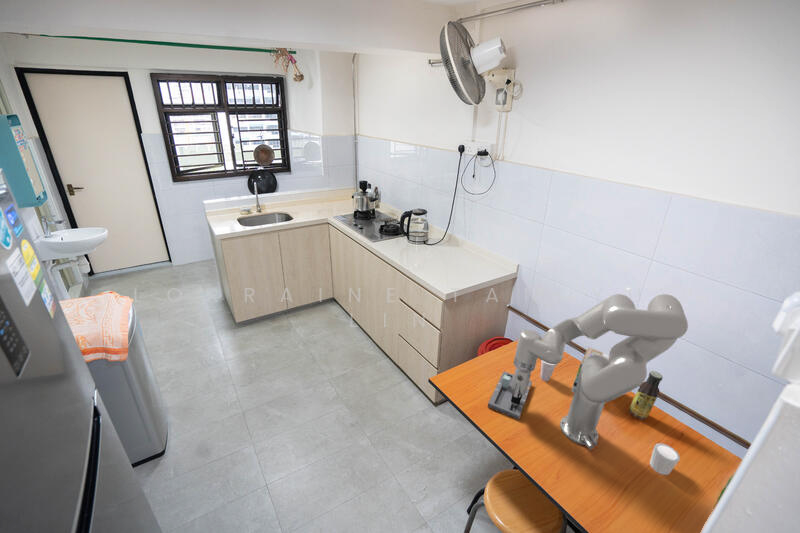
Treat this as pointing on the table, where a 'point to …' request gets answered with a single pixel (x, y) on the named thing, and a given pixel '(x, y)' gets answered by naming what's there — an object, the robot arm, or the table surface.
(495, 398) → the console
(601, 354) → the pale thin bent piece
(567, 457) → the table surface
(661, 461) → the white short cylinder
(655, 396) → the sauce bottle
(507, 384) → the fader teal
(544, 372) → the smoothie
